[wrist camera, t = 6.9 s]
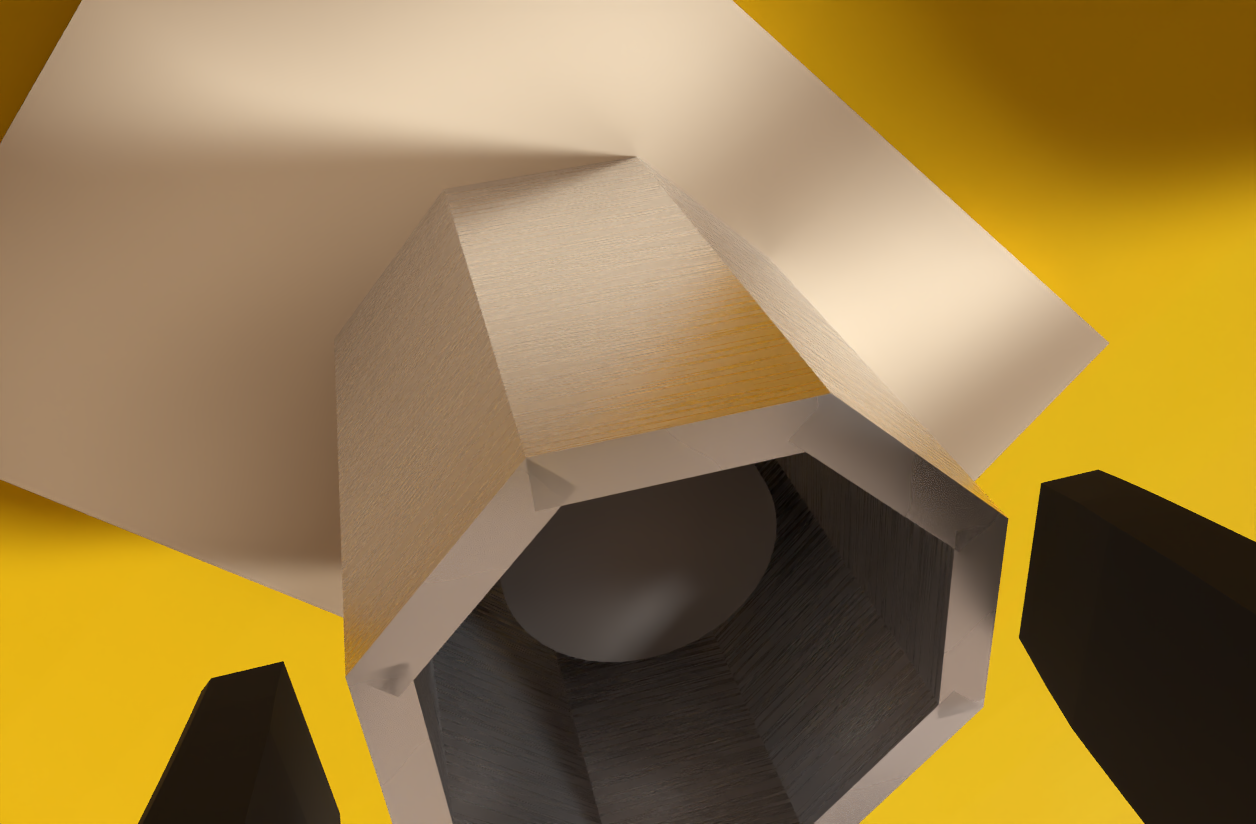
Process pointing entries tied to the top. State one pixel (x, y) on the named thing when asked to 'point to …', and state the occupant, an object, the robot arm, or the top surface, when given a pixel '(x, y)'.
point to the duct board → (383, 221)
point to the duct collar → (623, 461)
